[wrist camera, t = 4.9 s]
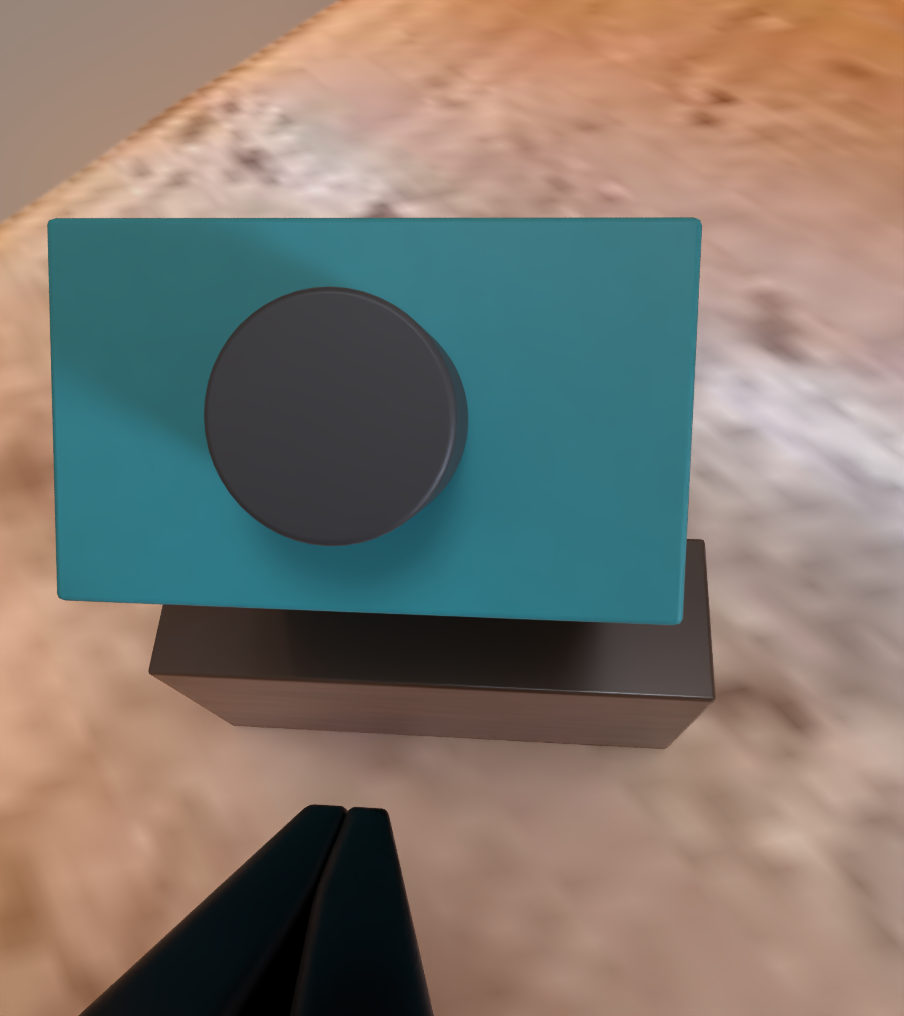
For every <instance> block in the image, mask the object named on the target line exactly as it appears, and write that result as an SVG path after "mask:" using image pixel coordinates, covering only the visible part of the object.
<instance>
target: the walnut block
mask: <svg viewBox="0 0 904 1016" xmlns="http://www.w3.org/2000/svg"><path fill="white" fill-rule="evenodd" d="M149 674H150V675H152V676H154V677H155V678H157V679H159V680H160V681H162V682H163V683H165V684H167V685H168V686H170V687H172V688H173V689H175V690H176V691H178V692H180V693H181V694H183V695H185V696H186V697H188V698H190V699H191V700H193V701H194V702H196V703H198V704H199V705H201V706H203V707H204V708H206V709H207V710H209V711H211V712H212V713H214V714H216V715H217V716H219V717H220V718H222V719H224V720H225V721H227V722H229V723H230V724H232V725H234V726H253V727H271V728H290V729H309V730H327V731H346V732H364V733H383V734H401V735H420V736H438V737H457V738H475V739H494V740H513V741H531V742H550V743H568V744H587V745H605V746H624V747H642V748H661V749H665V748H667V747H668V746H669V745H670V744H671V743H672V742H673V741H674V740H675V739H676V738H677V737H678V736H679V735H680V734H681V733H683V732H684V731H685V730H686V729H687V728H688V727H689V726H690V725H691V724H692V723H693V722H694V721H695V720H696V719H697V718H698V717H699V716H700V715H701V714H702V713H703V712H704V711H705V710H706V709H707V708H708V707H709V706H710V705H711V704H712V703H713V702H714V701H715V698H716V697H715V683H714V668H713V654H712V639H711V625H710V610H709V596H708V582H707V567H706V553H705V543H704V541H703V540H701V539H687V543H686V564H685V584H684V605H683V619H682V621H681V623H680V624H677V625H654V624H629V623H605V622H581V621H556V620H532V619H507V618H483V617H459V616H434V615H410V614H386V613H361V612H337V611H312V610H288V609H264V608H239V607H215V606H191V605H166V604H163V607H162V611H161V616H160V620H159V625H158V629H157V634H156V639H155V643H154V648H153V652H152V657H151V661H150V666H149Z"/></svg>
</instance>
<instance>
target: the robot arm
mask: <svg viewBox="0 0 904 1016" xmlns="http://www.w3.org/2000/svg"><path fill="white" fill-rule="evenodd" d="M79 1016H434V1015H433V1011H432V1006H431V1002H430V997H429V993H428V988H427V984H426V979H425V975H424V970H423V966H422V961H421V957H420V952H419V948H418V943H417V939H416V934H415V930H414V926H413V921H412V917H411V912H410V908H409V903H408V899H407V894H406V890H405V885H404V881H403V876H402V872H401V867H400V863H399V858H398V854H397V849H396V845H395V840H394V836H393V831H392V827H391V823H390V818H389V814H388V812H387V811H386V810H385V809H381V808H364V807H353V808H351V809H350V810H348V811H347V810H346V809H345V808H344V807H342V806H331V805H309V806H307V807H306V808H304V809H303V810H302V811H301V812H300V813H299V814H298V815H296V816H295V817H294V818H293V819H292V820H291V821H290V822H289V823H288V824H287V825H286V826H284V827H283V828H282V829H281V830H280V831H279V832H278V833H277V834H276V835H275V836H274V837H272V838H271V839H270V840H269V841H268V842H267V843H266V844H265V845H264V846H263V847H262V848H261V849H259V850H258V851H257V852H256V853H255V854H254V855H253V856H252V857H251V858H250V859H249V860H247V861H246V862H245V863H244V864H243V865H242V866H241V867H240V868H239V869H238V870H237V871H235V872H234V873H233V874H232V875H231V876H230V877H229V878H228V879H227V880H226V881H225V882H224V883H222V884H221V885H220V886H219V887H218V888H217V889H216V890H215V891H214V892H213V893H212V894H210V895H209V896H208V897H207V898H206V899H205V900H204V901H203V902H202V903H201V904H200V905H198V906H197V907H196V908H195V909H194V910H193V911H192V912H191V913H190V914H189V915H188V916H186V917H185V918H184V919H183V920H182V921H181V922H180V923H179V924H178V925H177V926H176V927H175V928H173V929H172V930H171V931H170V932H169V933H168V934H167V935H166V936H165V937H164V938H163V939H161V940H160V941H159V942H158V943H157V944H156V945H155V946H154V947H153V948H152V949H151V950H149V951H148V952H147V953H146V954H145V955H144V956H143V957H142V958H141V959H140V960H139V961H137V962H136V963H135V964H134V965H133V966H132V967H131V968H130V969H129V970H128V971H127V972H126V973H124V974H123V975H122V976H121V977H120V978H119V979H118V980H117V981H116V982H115V983H114V984H112V985H111V986H110V987H109V988H108V989H107V990H106V991H105V992H104V993H103V994H102V995H100V996H99V997H98V998H97V999H96V1000H95V1001H94V1002H93V1003H92V1004H91V1005H90V1006H89V1007H87V1008H86V1009H85V1010H84V1011H83V1012H82V1013H81V1014H80V1015H79Z"/></svg>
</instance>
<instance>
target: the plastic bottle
mask: <svg viewBox="0 0 904 1016" xmlns="http://www.w3.org/2000/svg"><path fill="white" fill-rule="evenodd" d="M47 227H48V265H49V302H50V340H51V377H52V415H53V453H54V490H55V528H56V565H57V595H58V597H59V598H60V599H63V600H69V601H93V602H117V603H142V604H166V605H191V606H215V607H239V608H264V609H288V610H312V611H337V612H361V613H386V614H410V615H434V616H459V617H483V618H507V619H532V620H556V621H581V622H605V623H629V624H654V625H677V624H680V623H681V621H682V619H683V605H684V584H685V564H686V543H687V523H688V502H689V482H690V462H691V441H692V421H693V400H694V380H695V360H696V339H697V319H698V298H699V278H700V257H701V237H702V225H701V222H700V220H699V219H696V218H55V219H52V220H49V222H48V225H47Z"/></svg>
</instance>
